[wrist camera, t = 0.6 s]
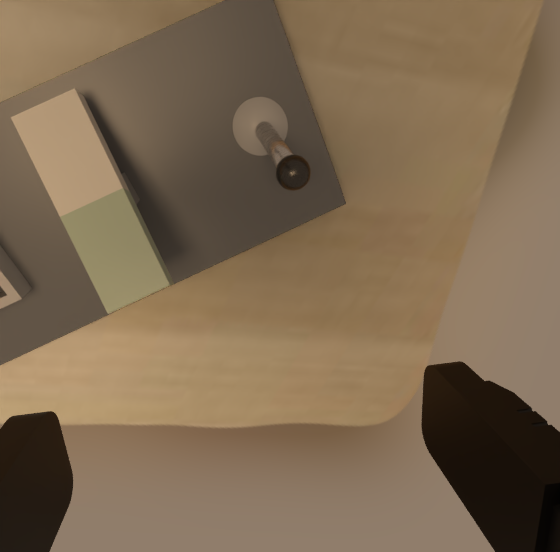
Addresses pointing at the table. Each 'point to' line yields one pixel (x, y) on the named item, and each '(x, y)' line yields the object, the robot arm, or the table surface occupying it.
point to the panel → (165, 161)
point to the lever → (283, 158)
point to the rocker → (92, 200)
